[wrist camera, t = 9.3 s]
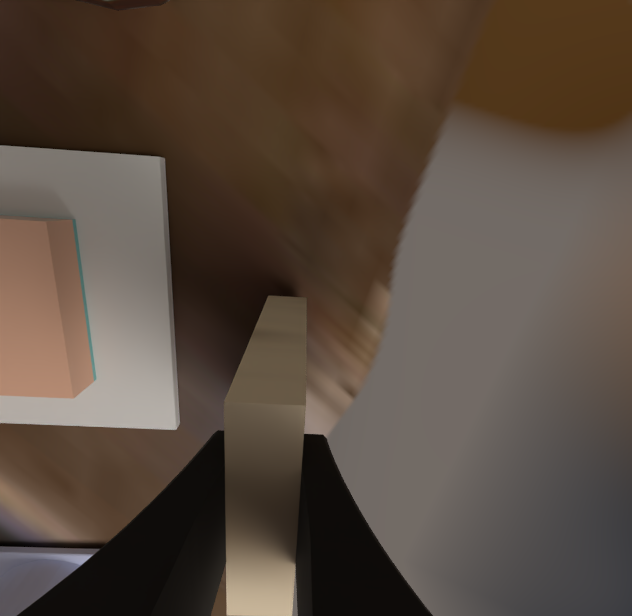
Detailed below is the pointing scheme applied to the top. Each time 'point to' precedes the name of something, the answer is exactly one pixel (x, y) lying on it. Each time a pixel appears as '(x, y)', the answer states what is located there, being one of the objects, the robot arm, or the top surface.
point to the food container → (125, 3)
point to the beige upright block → (265, 461)
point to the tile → (43, 310)
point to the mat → (106, 281)
